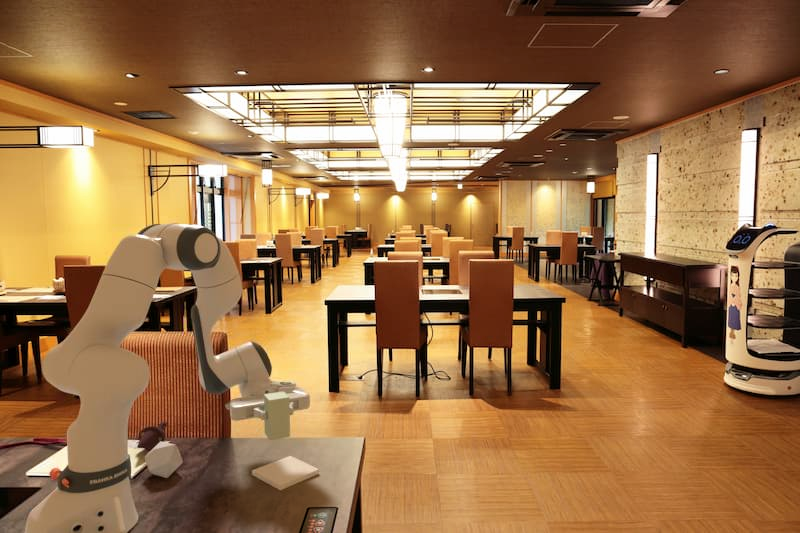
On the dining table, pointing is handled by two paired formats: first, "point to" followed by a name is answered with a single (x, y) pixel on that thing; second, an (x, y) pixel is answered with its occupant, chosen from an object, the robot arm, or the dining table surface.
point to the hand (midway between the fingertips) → (277, 414)
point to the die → (163, 459)
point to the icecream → (151, 436)
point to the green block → (277, 415)
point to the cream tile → (285, 472)
